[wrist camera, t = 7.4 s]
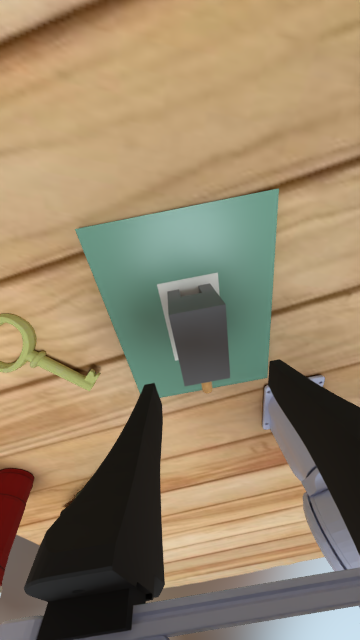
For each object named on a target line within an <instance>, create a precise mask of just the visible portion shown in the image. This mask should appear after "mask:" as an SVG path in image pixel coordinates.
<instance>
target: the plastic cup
mask: <svg viewBox="0 0 360 640" xmlns="http://www.w3.org/2000/svg"><path fill="white" fill-rule="evenodd" d="M33 481H34V477H33V475H32V474H30V473H29V472H27V471H24V470H21V469H13V468H12V469H3V470H0V596H1V592H2V587H1V585H2V580H3V576H4V571H5V567H6V564H7V560H8V556H9V553H10V550H11V547H12V544H13V541H14V539H15V536H16V533H17V530H18V527H19V524H20V521H21V519H22V516H23V513H24V510H25V506H26V502H27V500H28V497H29V494H30V491H31V489H32V486H33Z"/></svg>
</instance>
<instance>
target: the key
mask: <svg viewBox="0 0 360 640" xmlns="http://www.w3.org/2000/svg"><path fill="white" fill-rule="evenodd" d="M4 323H9V324H12V325H13V326H15V327H16V328H17V329H18V330H19V331H20V333H21V335H22V338H23V348H22V352H21V355H20V357H19V359H18V360H17V361H16V362H14V363H4V362H1V361H0V372H5V373H6V372H12V371H14V370H16V369H18V368H20V367H22V366H23V365H24V364H25V363H26V362H27V361H29V362H31V363H30V367H32V368H34V367H37V366H39V367H41V368H43V369H45V370H47V371H49V372H51V373H53V374H55V375H57V376H59V377H61V378H64V379H66V380H68V381H70V382H72V383H74V384H76V385H78V386H80V387H82V388H84V389H86V390H88V391H90V390H91V389H92V387H93V386H94V384H95V382H96V380H97V378H98V377H99V375H100V374H101V373H99V372H98V373H97V374H95V373H96V372H95V370H93V369H91V370H90V372H89V373H88V375H87V376H84V375H82V374H80V373H78V372H76V371H74V370H72V369H70V368H69V367H67V366H65V365H63V364H61V363H59V362H57V361H55V360H53V359H51V358H49V357H47V356H46V352H45V351H41V352H37V351H35V350H34V349H35V345H36V335H35V331H34V329H33V327H32V326H31V325H30V324H29V323H28V322H27V321H26V320H24V319H23V318H21V317H19V316H16V315H14V314H0V325H2V324H4Z"/></svg>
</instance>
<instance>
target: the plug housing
mask: <svg viewBox="0 0 360 640" xmlns="http://www.w3.org/2000/svg"><path fill="white" fill-rule="evenodd" d="M198 288H199V293H198V294H193V295H188V296H183V297H181V296H180V292H179V289H178V290H173V291H168V292H167V295H168V315H169V320H170V324H171V328H172V333H173V337H174V342H175V346H176V351H177V355H178V359H179V364H180V368H181V373H182V377H183V381H184V386H190V385H196V384H201V385H202V390H203V392H205V393H210V392H211V391H212V389H213V387H212V381H217V380H223V379H228V378H230V365H229V349H228V333H227V317H226V304H225V303H224V301H223V300H222V299H221V297H220V296H219V295H218V293H217V292H216V291H215V289H214V288H213V287H212V286H211V284H210V283H209V284H204V285H199V286H198Z"/></svg>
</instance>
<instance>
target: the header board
mask: <svg viewBox="0 0 360 640" xmlns="http://www.w3.org/2000/svg"><path fill="white" fill-rule="evenodd" d="M278 193H279V189H274V190H269V191H264V192H259V193H254V194H249V195H244V196H239V197H234V198H229V199H224V200H219V201H214V202H209V203H204V204H199V205H194V206H189V207H184V208H179V209H174V210H169V211H164V212H159V213H154V214H149V215H144V216H139V217H134V218H129V219H124V220H119V221H114V222H109V223H104V224H99V225H94V226H89V227H84V228H79V229H75V230H76V233H77V235H78V238H79V240H80V243H81V245H82V248H83V251H84V253H85V256H86V258H87V261H88V263H89V266H90V268H91V271H92V273H93V276H94V278H95V281H96V283H97V286H98V288H99V291H100V293H101V296H102V298H103V301H104V303H105V306H106V308H107V311H108V314H109V316H110V319H111V321H112V324H113V326H114V329H115V331H116V334H117V336H118V339H119V341H120V344H121V346H122V349H123V351H124V354H125V356H126V359H127V361H128V364H129V366H130V369H131V372H132V374H133V377H134V379H135V382H136V384H137V387H138V389H139V392H140V394H141V392H142V389H143V387H144V385H145V384H151V383H155V385H156V388H157V391H158V394H159V397H160V398H161V397H167V396H172V395H177V394H183V393H188V392H194V391H199V390H202V385H201V384H196V385H190V386H184V381H183V377H182V373H181V368H180V364H179V359H178V355H177V351H176V346H175V342H174V337H173V333H172V328H171V324H170V320H169V315H168V295H167V292H168V291H173V290H178V289H179V292H180V296H181V297H183V296H188V295H193V294H198V293H199V288H198V286H199V285H204V284H209V283H210V284H211V286H212V287H213V288H214V289H215V291H216V292H217V293H218V295H219V296H220V297H221V299H222V300H223V301H224V303H225V304H226V317H227V333H228V349H229V365H230V378H228V379H223V380H217V381H212V387H213V388H215V387H220V386H226V385H231V384H237V383H242V382H247V381H253V380H258V379H263V378H267V373H268V356H269V340H270V324H271V307H272V291H273V275H274V258H275V242H276V226H277V209H278Z"/></svg>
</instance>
